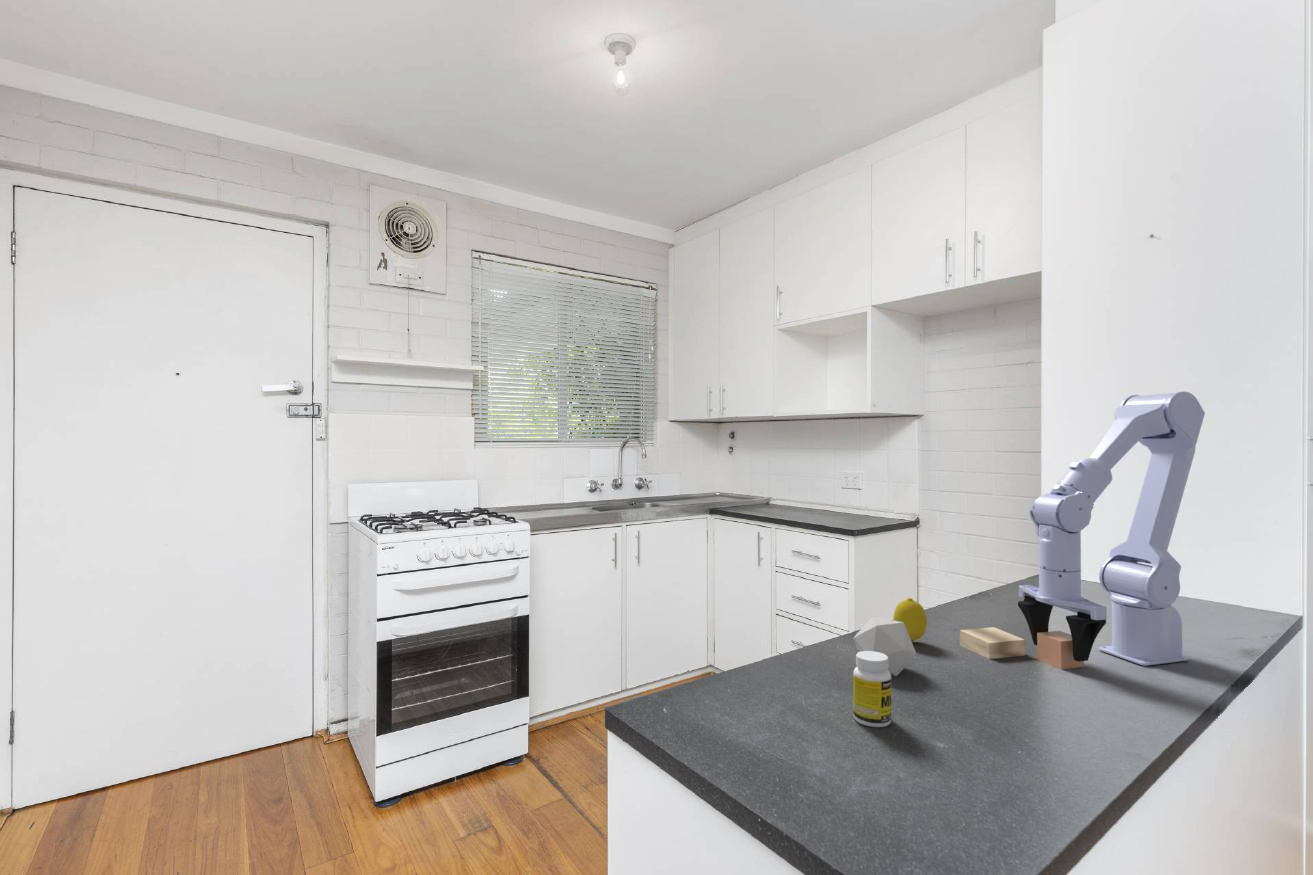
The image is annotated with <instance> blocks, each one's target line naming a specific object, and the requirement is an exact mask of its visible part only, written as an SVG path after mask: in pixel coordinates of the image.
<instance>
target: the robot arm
mask: <svg viewBox="0 0 1313 875" xmlns="http://www.w3.org/2000/svg"><path fill="white" fill-rule="evenodd" d="M1205 415H1206V414H1205V411H1204V408H1203V407H1202V405H1201V404H1200V401H1199V400H1198V399H1197V397H1196V396H1195V395H1194V394H1193V393H1191V392H1189V391H1178V392H1177V391H1176V392H1171V393H1158V394H1157V393H1156V394H1143V395H1139V394H1134V395H1133V394H1131V395H1129V396H1128V395H1127V397H1125V398H1123V400H1122V401H1121V403H1120V405H1119V406H1117V408H1116V409H1115V410H1114V421H1113V423H1112V424H1111V426H1110V427H1109V428H1108V430H1107V432H1106V433H1105V434H1104V436H1103V437H1102V439H1101V440H1100V441H1099V443H1098V444H1097V446H1096V447H1095V449H1094V450H1093V451H1092V453H1091V454H1090V456H1089V457H1088V458H1080V459H1077V460H1076V461H1072V462H1071V464H1070V465H1069V467H1068V468H1069V469H1068V470H1067V472H1066V473H1065V474H1064V475H1063V476H1062V478H1061V479H1060V480H1059V481H1058V482H1057V483H1056V484H1054V486H1053V487H1052V489H1051V491H1050V492H1049V493H1045V494H1041V495H1040V496H1039V497H1038V498H1036V499H1035V500H1034V502H1033V503H1032V504H1033V505H1032V507H1031V509H1029V511H1028V512H1029V517H1030V519H1031V521H1032V522H1033V524H1034V525H1035V534H1036V535H1037V537H1038V587H1037V586H1034V585H1031V584H1023V585H1018V597H1020V598H1022V599H1023V600H1018V601H1017V606H1018V609H1020V611H1021V612H1022V614H1023V616H1024V618H1025V620H1026V622H1027V623H1026V624H1027V625H1028V628H1029V632H1030V635H1031V639H1032V643H1033V646H1037V633H1041V632H1049V625H1050V624H1049V623H1050V618H1051V614H1052V610H1053V609H1054V608H1053V607H1055V608H1059V609H1063V610H1066V611H1069V612H1073V613H1075V614H1074V615H1065V620H1066V622H1067V624H1068V628H1069V631H1070V635H1071V636H1072V649H1073V657H1074V660H1075V661H1078V662H1080V661H1084V662H1087V661H1089V658H1090V655H1091V651H1092V648H1093V645H1094V643H1095V641H1096V638H1097V637H1098V635H1099V633H1100V632H1101V630H1102V629H1103V627H1104V626H1105V625H1106V624H1107V606H1104V605H1102V604H1098V603H1096V602H1094V601H1092V600H1090V599H1088V598H1085V597H1082V559H1081V558H1082V548H1081V547H1082V546H1081V544H1082V543H1081V542H1082V541H1081V539H1082V538H1081V535H1082V534H1081V533H1082V532H1081V531H1082V530H1084V529H1085V528H1086V527H1088V526H1089V524H1090V522H1091V519H1092V518H1091V517H1092V511H1093V509H1094V505H1095V504H1094V503H1095V502H1097V500H1098V498H1099V497H1101V495H1102V493H1104V491H1105V490H1106V489H1107V488H1108V486H1109V485H1111V483H1112V481H1113V473H1112V469H1113V468H1114V467H1115V466H1116V465H1117V464H1118V463H1119V462H1120V461H1121V460H1122V459H1123V458H1124V457H1125V455H1126V454H1127V453H1129V452H1130V450H1131V449H1132V448H1133V447H1134V446H1136V444H1137V443H1138V442H1139V443H1140V444H1141V445H1142V446H1144V447H1145V448H1147V449H1148V450H1149V451H1150V454H1151V455H1150V458H1149V459H1150V460H1149V461H1148V466H1147V469H1146V471H1145V475H1144V476H1145V477H1144V480H1143V484H1142V487H1141V490H1140V493H1139V497H1138V501H1137V504H1136V508H1135V511H1134V514H1133V518H1132V521H1131V525H1130V528H1129V531H1128V535H1127V539H1126V540H1125V541H1124V542H1122V543H1120V544H1118V545H1116V546H1114V547H1112V548H1111V549H1110V552H1109V555H1108V557H1107V559H1106V560H1105V561H1104V562H1103V563H1102V565H1101V567H1100V568H1099V573H1098V574H1099V575H1098V578H1099V580H1098V581H1099V583H1100V586H1101V587H1102V589H1103V591H1106V592H1107V598H1108V599H1110V600H1111V645H1105V646H1098V650H1099V651H1100V652H1101V651H1102V652H1104V653H1106V654H1110V655H1112V656H1114V657H1117V658H1121V659H1123V660H1126V661H1129V662H1132V663H1134V664H1137V665H1141V666H1152V665H1161V664H1169V663H1170V664H1171V663H1177V662H1185V661H1189V658H1188V656H1185V655H1183V621H1182V616H1181V614H1180V613H1179V611H1178V609H1177V608H1175V606H1173V605H1172V604H1174V603H1175V601H1176V600H1177V599H1178V597H1179V595H1180V592H1181V582H1180V575H1181V574H1180V573H1181V571H1182V570H1181V569H1182V565H1181V564H1180V563H1179V562H1178V561H1177V560H1176V559H1175V558H1174V557H1173V556H1172V554H1170V552H1169V551H1168V549H1169V546H1170V541H1171V538H1172V535H1173V530H1174V528H1175V524H1176V520H1177V517H1178V513H1179V511H1180V506H1181V503H1182V499H1183V496H1184V492H1185V489H1186V487H1187V486H1186V485H1187V481H1188V478H1189V475H1190V471H1191V468H1192V465H1193V460H1194V458H1195V453H1196V447H1197V446H1196V445H1197V443H1198V440H1199V435H1200V431H1201V428H1202V425H1203V421H1204V418H1205Z"/></svg>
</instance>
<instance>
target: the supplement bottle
mask: <svg viewBox="0 0 1313 875" xmlns="http://www.w3.org/2000/svg"><path fill="white" fill-rule="evenodd" d="M855 663H856V664H855V665H856V667H855V668H854V670H853V671H852V672H853V673H852V676H853V678H852V680H853V681H852V682H853V685H852V686H853V687H852V688H853V701H852V702H853V703H852V704H853V705H852V707H853V708H852V709H853V710H852V711H853V713H852V714H853V715H852V716H853V718H854V720H855V721H856V722H858V723H859V724H861V725H863V726H867V727H871V728H884V727H887V726H889V725H891V723H892V675H891V674H890V672H889V671H888V667H889V664H888V656H886V655H885V654H883V653H880V652H874V651H861V652H859V651H858V652H857V653H856V655H855Z"/></svg>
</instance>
